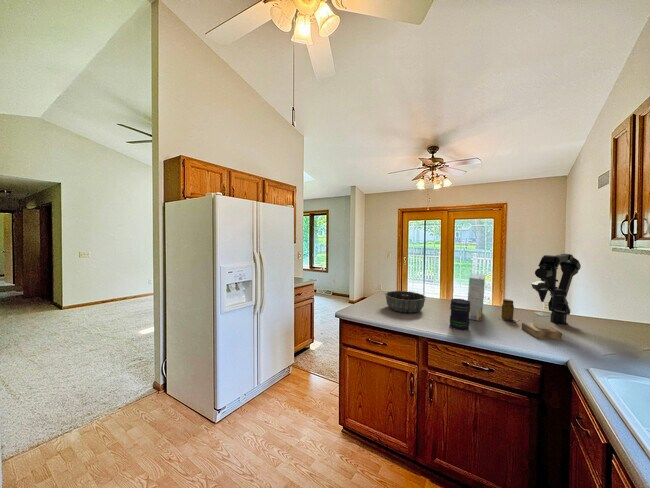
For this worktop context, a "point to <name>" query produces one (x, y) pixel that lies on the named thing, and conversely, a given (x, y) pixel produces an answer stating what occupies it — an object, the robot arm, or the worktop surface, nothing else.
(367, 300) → the worktop surface
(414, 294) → the bundt pan
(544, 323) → the cream block
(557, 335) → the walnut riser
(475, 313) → the snack box
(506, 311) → the condiment
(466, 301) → the storage jar
